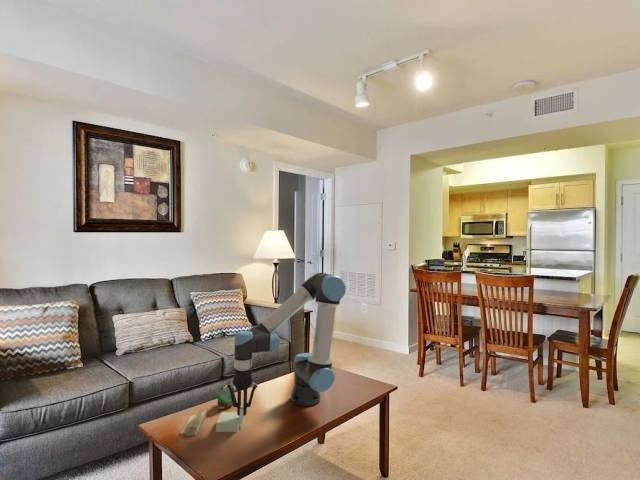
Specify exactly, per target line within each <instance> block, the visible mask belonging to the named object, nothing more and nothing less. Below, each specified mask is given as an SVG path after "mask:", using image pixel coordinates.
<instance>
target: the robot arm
mask: <svg viewBox="0 0 640 480" xmlns="http://www.w3.org/2000/svg"><path fill="white" fill-rule="evenodd" d="M298 288H299V289H298V290H297V291H295V292H294V293H293V294H292V295H291V296H289V298H288V299H287V300H285V301H284V302H283V303H282V304H280V305H279V306H278V307H277V308H276V309H274V311H272V312H271V313H270V314H269V315H268V316H267V317H266V318H264V319H263V320H262V321H261V322H260V323H259V324H257V325H253V326H251V327H250V328H249V329H248V330H241V331H237V332H236V333H235V334H234V342H233V343H234V354H233V355H234V357H233V368H234V369H233V380H232V381H231V383H229V384H228V386H227V387H228V389H229V390H230V395H231V399H232V403H233V406H232V407H233V408H237V410H236V412H237V415H238V416H240V424H241V425H243V424H244V423H245V416H247V409H248V408H250V407H251V406H252V401H253V398H254V394H255V391H256V389H257V388H258V382H254V380H253V377H252V376H253V375H252V373H253V369H252V367H253V354H258V353H268V352H269V353H271V352H274V351H278V350H279V348H280V337H279V335H278V334H277V333H274V332H275V331H277V330H278V329H279V328H280V327H281V326H282V325H284V323H286V322H287V321H288V320H289V319H290V318H291V317H292V316H294V315H295V314H296V313H297V312H298V311H299V310H300V309H301V308H303V307H304V306H305V305H306V304H307V303H308V302H310V301H311V302H313V301H314V299H315V303H316V304H317V310H316V319H315V328H314V334H313V336H314V337H313V341H312V351H311V352H302V353H298V354H296V355H295V357H294V362H293V363H294V368H293V369H294V373H293V374H294V377H293V379H294V380H293V381H294V382H293V386H292V389H291V393H290V401H291V403H292V404H294V405H296V406H301V407H311V406H314V405H317V404H320V402H321V398H322V397H321V393H324V392H326V391H328V390H330V388H331V387H332V386H333V385H334V383H335V379H336V377H335V373H334V371H333V369H332V366H333V361H332V359H331V351H332V344H333V343H332V341H333V336H334V335H333V333H334V325H335V318H336V317H335V316H336V309H337V308H338V306H339V305H340V304H341V303H340V302H341V300H342V298H344V296H345V294H346V284H345V282H344V280H343V279H342V278H341V277H340V276H338V275H335V274H332V273H326V272H319V273H315V274H312V276H310V277H309V278H307V279H306V280H304V282H303V283H302V284H300V285H299V286H298ZM233 384H234V385H233ZM233 386H235V387H236V390H237V393H236V394H237V398H236V394H235V391H234V388H233ZM250 387H251V391H250V395H249V399H248V389H249V388H250ZM242 391H243V398H242ZM242 399H243V403H242ZM242 404H243V405H242Z"/></svg>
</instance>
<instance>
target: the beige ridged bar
mask: <svg viewBox="0 0 640 480" xmlns="http://www.w3.org/2000/svg"><path fill="white" fill-rule="evenodd" d="M207 410H208V409H205V408H204V409H201V408H200V409H199V410H198V411H197V414H192V415H191V416H190V417H189V418H188V420H187V422H186V424H185V425H184V427H183V428H182V430H181V431H180V434H179V436H182V437H183V436H184V437H185V436H188V437H189V436H192V437H194V436H195V437H196V436H197V435H198V434H199V431H200V430H201V428H202V426H203V425H204V422H205V421H206V419H207V416H208V415H207V414H208V413H207V412H208V411H207Z"/></svg>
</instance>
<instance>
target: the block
mask: <svg viewBox="0 0 640 480" xmlns="http://www.w3.org/2000/svg"><path fill="white" fill-rule="evenodd" d="M241 425H242V424H240V416H238V415H237V411H235V412H234V411H233V412H232V411H231V412H229V411H222V412H221V413H220V415H219V417H218V419H217V421H216V422H215V433H238V432H239V429H240V427H241Z"/></svg>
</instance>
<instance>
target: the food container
mask: <svg viewBox="0 0 640 480" xmlns="http://www.w3.org/2000/svg"><path fill="white" fill-rule="evenodd" d="M231 382H232V381H230V380H228V381H227V382H226V384H225V385H223V386H221V388H220V389H217V391H216V395H217V397H216V398H217V410H218V411H227V410H230V409H231V408H232V407H233V403H232V399H231V395H230V390H229V389H228V387H227V386H228V384H229V383H231ZM233 385H234V384H233ZM233 388H234V392H235V391H236V390H237V388H236V387H235V386H233Z"/></svg>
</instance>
